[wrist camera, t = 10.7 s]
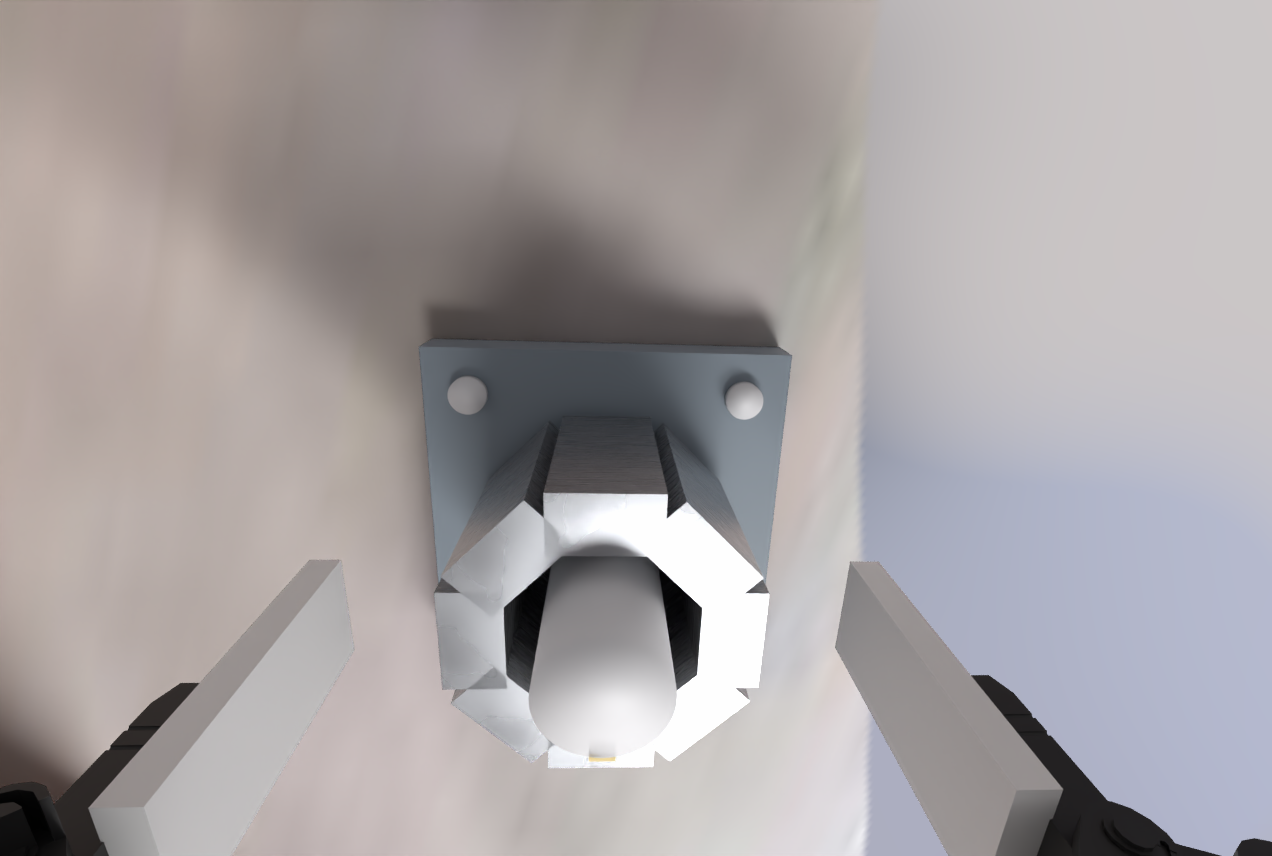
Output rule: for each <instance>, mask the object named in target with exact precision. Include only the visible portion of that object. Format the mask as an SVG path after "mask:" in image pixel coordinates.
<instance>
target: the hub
mask: <svg viewBox="0 0 1272 856" xmlns="http://www.w3.org/2000/svg"><path fill="white" fill-rule="evenodd" d="M562 556H617V557H648V558H649V559H650V560H651V561H653V562H654V563H655V564H656V565H657V566H658V568H659V575H660V581H661V588H662V595H663V602H664V608H665V615H666V622H667V628H668V635H669V642H670V648H671V655H672V662H673V668H674V675H675V682H676V688H677V704H676V709H675V712H674V715H673V718H672V720H671V722H670V723H669V725H668V726H667V728H666V729H665V730H664V731H663V733H662V734H661V735H660V736H659V737H658V738H656V739H655V740H654V741H653V742H651V743H650V744H648V745H647V746H645V747H643V748H641V749H639V750H637V751H635V752H632V753H630V754H626V755H622V756H617V757H616V761H600V762H589V757H585V756H580V755H576V754H573V753H570V752H568V751H565V750H563V749H561V748H559V747H558V746H556V745H555V744H553V743H552V742H550V741H549V740H548V739H547V738H546V737H545V736H544V735H543V734H542V733H541V732H540V731H539V729H538V728H537V726H536V725H535V723H534V721H533V719H532V717H531V713H530V710H529V702H528V699H529V689H530V683H531V678H532V672H533V666H534V661H535V655H536V649H537V644H538V638H539V632H540V626H541V621H542V615H543V609H544V604H545V598H546V592H547V587H548V581H549V575H550V570H551V565H553V564H554V563H555V562H556V561H557V560H558V559H559V558H561V557H562ZM441 577H442V578H441V580H440V582H439V584H438V586H437V588H436V590H435V592H434V599H435V610H436V622H437V633H438V645H439V657H440V668H441V680H442V689H456V690H455V693H454V696H453V699H452V702H451V704H452V705H453V706H455V707H456V708H458V709H459V710H460V711H462V712H463V713H464V714H466V715H467V716H468V717H470V718H471V719H472V720H474V721H475V722H476V723H478V724H479V725H481V726H482V727H483V728H485V729H486V730H487V731H489V732H490V733H491V734H493V735H494V736H495V737H497V738H498V739H500V740H501V741H502V742H504V743H505V744H506V745H508V746H509V747H510V748H512V749H513V750H514V751H516V752H517V753H518V754H520V755H521V756H523V757H524V758H525V759H527V760H528V761H529V762H531V763H532V762H534V761H535V760H536V759H537V758H539V757H540V756H541V755H542V754H544V753H545V752H546V751H547V750H548V768H604V767H653V761H654V749H655V750H656V751H657V752H659V753H660V754H661V755H662V756H664V757H665V758H666V759H667V760H669V761H671V760H672V759H674V758H675V757H676V756H678V755H679V754H680V753H682V752H683V751H684V750H686V749H687V748H688V747H690V746H691V745H692V744H694V743H695V742H696V741H698V740H699V739H700V738H702V737H703V736H704V735H706V734H707V733H708V732H710V731H711V730H712V729H714V728H715V727H716V726H718V725H719V724H720V723H722V722H723V721H724V720H726V719H727V718H728V717H730V716H731V715H732V714H734V713H735V712H736V711H738V710H739V709H740V708H742V707H743V706H744V705H746V704H747V703H748V702H750V701H749V698H748V695H747V691H746V688H758V685H759V676H760V668H761V660H762V651H763V643H764V635H765V626H766V618H767V610H768V601H769V592H768V590H767V587H766V585H765V583H764V581H763V578H764V577H763V575H762V573H761V571H760V568H759V566H758V564H757V562H756V560H755V557H754V555H753V553H752V551H751V549H750V546H749V544H748V542H747V540H746V538H745V535H744V533H743V531H742V529H741V527H740V524H739V522H738V520H737V518H736V516H735V513H734V511H733V509H732V507H731V505H730V502H729V500H728V498H727V496H726V494H725V491H724V489H723V487H722V485H721V483H720V480H719V479H718V478H717V477H716V476H715V475H714V474H713V473H712V472H711V471H710V470H709V469H708V468H707V467H706V466H705V465H704V464H703V463H702V461H701V460H700V459H699V458H698V457H697V456H696V455H695V454H694V453H693V452H692V451H691V450H690V449H689V448H688V447H687V446H686V445H685V444H684V443H683V442H682V441H681V440H680V439H679V438H678V437H677V436H676V435H675V434H674V433H673V432H672V431H671V430H670V429H669V428H668V427H667V426H666V425H665V424H664V423H662V424H661V425H660V426H659V427H658V428H657V429H656V430H654V431H653V427H652V423H651V418H650V417H628V416H574V415H563V418H562V422H561V426H560V430H559V429H558V428H557V427H556V426H555V425H554V424H553V423H552V422H551V421H549V422H547V423H546V424H545V425H544V426H543V427H542V428H541V429H540V430H539V431H538V432H537V433H536V434H535V435H534V436H533V437H532V438H530V439H529V440H528V441H527V442H526V443H525V444H524V445H523V446H522V447H521V448H520V449H519V450H518V451H517V452H516V453H515V454H514V455H512V456H511V457H510V458H509V459H508V460H507V461H506V462H505V463H504V464H503V465H502V466H501V467H500V468H499V469H498V470H497V471H495V472H494V473H493V474H492V475H491V476H490V478H489V480H488V482H487V484H486V486H485V488H484V490H483V492H482V494H481V496H480V498H479V500H478V502H477V504H476V506H475V508H474V510H473V512H472V514H471V516H470V518H469V520H468V522H467V524H466V526H465V528H464V530H463V532H462V534H461V536H460V538H459V540H458V542H457V544H456V546H455V548H454V550H453V553H452V555H451V557H450V559H449V561H448V563H447V565H446V567H445V569H444V571H443V573H442V575H441Z"/></svg>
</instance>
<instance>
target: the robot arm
mask: <svg viewBox="0 0 1272 856" xmlns="http://www.w3.org/2000/svg"><path fill="white" fill-rule="evenodd" d="M835 648H836V650H837V652H838V653H839V655H840V657H841V659H842V661H843V663H844V664H845V666H846V668H847V670H848V672H849V674H850V675H851V677H852V679H853V681H854V683H855V685H856V687H857V688H858V690H859V692H860V694H861V696H862V698H863V699H864V701H865V703H866V705H867V707H868V709H869V710H870V712H871V714H872V716H873V718H874V720H875V721H876V723H877V725H878V727H879V729H880V731H881V733H882V734H883V736H884V738H885V740H886V742H887V744H888V745H889V747H890V749H891V751H892V753H893V754H894V756H895V758H896V760H897V762H898V764H899V766H900V767H901V769H902V771H903V773H904V775H905V777H906V779H907V780H908V782H909V784H910V786H911V788H912V790H913V791H914V793H915V795H916V797H917V799H918V801H919V802H920V804H921V806H922V808H923V810H924V812H925V814H926V815H927V817H928V819H929V821H930V823H931V825H932V826H933V828H934V830H935V832H936V834H937V836H938V837H939V839H940V841H941V843H942V845H943V847H944V848H945V850H946V852H947V854H948V856H1220V855H1216V854H1212V853H1209V852H1205V851H1201V850H1197V849H1194V848H1190V847H1186V846H1182V845H1179V844H1175V843H1174V842H1173V840H1172V839H1171V838H1170V837H1169V836H1168V834H1167V833H1166V832H1164V831H1163V830H1162V829H1161V828H1160V827H1158V826H1157V825H1156V824H1155V823H1153V822H1152V821H1151V820H1150V819H1148V818H1146V817H1145V816H1143V815H1141V814H1140V813H1138V812H1136V811H1134V810H1133V809H1131V808H1128V807H1125V806H1123V805H1120V804H1117V803H1114V802H1110V801H1107V800H1106V798H1105V797H1104V796H1103V795H1102V794H1101V793H1100V792H1099V790H1098V789H1097V788H1096V787H1095V786H1094V785H1093V784H1092V782H1091V781H1090V780H1089V779H1088V778H1087V777H1086V776H1085V775H1084V773H1083V772H1082V771H1081V770H1080V769H1079V768H1078V767H1077V765H1076V764H1075V763H1074V762H1073V761H1072V760H1071V758H1070V757H1069V756H1068V755H1067V754H1066V753H1065V751H1064V750H1063V749H1062V748H1061V747H1060V746H1059V745H1058V743H1057V742H1056V741H1055V740H1054V739H1053V738H1052V737H1051V736H1048V735H1047V731H1046V730H1045V729H1044V727H1043V726H1042V725H1041V724H1040V723H1039V722H1038V721H1037V719H1036V718H1033V717H1032V714H1031V713H1030V711H1029V710H1028V709H1027V708H1026V707H1025V706H1024V704H1022V702H1021V701H1020V700H1019V699H1018V698H1017V696H1016V695H1015V694H1014V693H1013V692H1011V691H1010V690H1009V689H1007V688H1006V687H1004V686H1003V685H1002V684H1000V683H999V682H997V681H996V680H995V679H993V678H992V677H990V676H989V675H970V674H969V673H968V671H967V670H966V669H965V668H964V667H963V665H962V664H961V663H960V662H959V660H958V659H957V658H956V657H955V655H954V654H953V653H952V652H951V650H950V649H949V648H948V647H947V645H946V644H945V643H944V642H943V641H942V639H941V638H940V637H939V636H938V634H937V633H936V632H935V631H934V630H933V628H932V627H931V626H930V625H929V623H928V622H927V621H926V620H925V619H924V617H923V616H922V615H921V614H920V612H919V611H918V610H917V609H916V607H915V606H914V605H913V604H912V602H911V601H910V600H909V599H908V597H907V596H906V595H905V594H904V593H903V591H902V590H901V589H900V588H899V587H898V585H897V584H896V583H895V581H894V580H893V579H892V578H891V577H890V575H889V574H888V573H887V572H886V570H885V569H884V568H883V567H882V565H881V564H880V563H879V562H850V566H849V572H848V578H847V583H846V589H845V595H844V601H843V606H842V612H841V618H840V623H839V629H838V635H837V641H836V646H835ZM353 651H354V643H353V637H352V630H351V623H350V617H349V610H348V603H347V597H346V590H345V583H344V577H343V570H342V563H341V560H309V561H308V562H307V563H306V565H305V566H304V567H303V568H302V569H301V570H300V571H299V572H298V573H297V575H296V576H295V577H294V578H293V579H292V580H291V581H290V582H289V584H288V585H287V586H286V587H285V588H284V589H283V590H282V591H281V593H280V594H279V595H278V596H277V597H276V598H275V599H274V600H273V602H272V603H271V604H270V605H269V606H268V607H267V608H266V609H265V610H264V612H263V613H262V614H261V615H260V616H259V617H258V618H257V619H256V621H255V622H254V623H253V624H252V625H251V626H250V627H249V628H248V630H247V631H246V632H245V633H244V634H243V635H242V636H241V637H240V639H239V640H238V641H237V642H236V643H235V644H234V645H233V646H232V647H231V649H230V650H229V651H228V652H227V653H226V654H225V655H224V656H223V658H222V659H221V660H220V661H219V662H218V663H217V664H216V665H215V667H214V668H213V669H212V670H211V671H210V672H209V673H208V674H207V676H206V677H205V678H204V679H203V680H202V681H201V682H200V683H180V684H179V685H177V686H176V687H174V688H173V689H171V690H170V691H168V692H167V693H165V694H164V695H162V696H161V697H159V698H158V699H156V700H155V701H153V702H152V703H151V704H150V705H149V706H148V707H147V708H146V709H145V710H144V711H143V712H142V713H141V714H140V715H139V716H138V717H137V718H136V719H135V720H134V721H133V722H132V724H131V725H130V726H129V729H128V731H124V732H123V733H122V734H121V735H120V736H119V737H118V738H117V739H116V740H115V741H114V742H113V743H112V744H111V747H110V749H109V750H106V751H105V752H104V753H103V754H102V755H101V756H100V757H99V758H98V759H97V760H96V761H95V762H94V763H93V764H92V765H91V766H90V767H89V768H88V770H87V771H86V772H85V773H84V774H83V775H82V776H81V777H80V778H79V779H78V780H77V781H76V782H75V783H74V784H73V785H72V786H71V787H70V788H69V789H68V790H67V791H66V793H65V794H64V795H63V796H62V797H61V798H60V799H59V800H58V801H57V802H56V803H55V804H53V801H52V799H51V796H50V794H49V792H48V790H47V788H46V786H44V785H41V784H38V783H34V782H27V783H18V784H11V785H8V786H5V787H2V788H0V856H232V854H233V853H234V851H235V849H236V848H237V846H238V844H239V843H240V841H241V839H242V838H243V836H244V834H245V833H246V831H247V829H248V828H249V826H250V824H251V823H252V821H253V819H254V817H255V816H256V814H257V812H258V811H259V809H260V807H261V806H262V804H263V802H264V801H265V799H266V797H267V796H268V794H269V792H270V791H271V789H272V787H273V786H274V784H275V782H276V781H277V779H278V777H279V776H280V774H281V772H282V771H283V769H284V767H285V766H286V764H287V762H288V760H289V759H290V757H291V755H292V754H293V752H294V750H295V749H296V747H297V745H298V744H299V742H300V740H301V739H302V737H303V735H304V734H305V732H306V730H307V729H308V727H309V725H310V724H311V722H312V720H313V719H314V717H315V715H316V714H317V712H318V710H319V708H320V707H321V705H322V703H323V702H324V700H325V698H326V697H327V695H328V693H329V692H330V690H331V688H332V687H333V685H334V683H335V682H336V680H337V678H338V677H339V675H340V673H341V672H342V670H343V668H344V667H345V665H346V663H347V662H348V660H349V658H350V657H351V655H352V653H353ZM1233 856H1272V842H1270V841H1265V840H1260V839H1255V838H1254V839H1249V840H1243V841H1241V843H1240V844H1239V846H1238V848H1237V850H1236V852H1235V853H1234V855H1233Z"/></svg>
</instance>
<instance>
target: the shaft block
mask: <svg viewBox="0 0 1272 856" xmlns="http://www.w3.org/2000/svg"><path fill="white" fill-rule="evenodd" d="M419 355H420V367H421V379H422V391H423V404H424V416H425V428H426V440H427V452H428V464H429V476H430V488H431V500H432V512H433V524H434V536H435V548H436V560H437V572H438V584H439V582H440V580H441V578H442V577H441V575H442V573H443V571H444V569H445V567H446V565H447V563H448V561H449V559H450V557H451V555H452V553H453V550H454V548H455V546H456V544H457V542H458V540H459V538H460V536H461V534H462V532H463V530H464V528H465V526H466V524H467V522H468V520H469V518H470V516H471V514H472V512H473V510H474V508H475V506H476V504H477V502H478V500H479V498H480V496H481V494H482V492H483V490H484V488H485V486H486V484H487V482H488V480H489V478H490V476H491V475H492V474H493V473H494V472H495V471H497V470H498V469H499V468H500V467H501V466H502V465H503V464H504V463H505V462H506V461H507V460H508V459H509V458H510V457H511V456H512V455H514V454H515V453H516V452H517V451H518V450H519V449H520V448H521V447H522V446H523V445H524V444H525V443H526V442H527V441H528V440H529V439H530V438H532V437H533V436H534V435H535V434H536V433H537V432H538V431H539V430H540V429H541V428H542V427H543V426H544V425H545V424H546V423H547V422H549V421H551V422H552V423H553V424H554V425H555V426H556V427H557V428H558V429H559V430H560V426H561V422H562V418H563V415H574V416H628V417H650V418H651V423H652V427H653V431H654V430H656V429H657V428H658V427H659V426H660V425H661V424H662V423H664V424H665V425H666V426H667V427H668V428H669V429H670V430H671V431H672V432H673V433H674V434H675V435H676V436H677V437H678V438H679V439H680V440H681V441H682V442H683V443H684V444H685V445H686V446H687V447H688V448H689V449H690V450H691V451H692V452H693V453H694V454H695V455H696V456H697V457H698V458H699V459H700V460H701V461H702V463H703V464H704V465H705V466H706V467H707V468H708V469H709V470H710V471H711V472H712V473H713V474H714V475H715V476H716V477H717V478H718V479H719V480H720V483H721V485H722V487H723V489H724V491H725V494H726V496H727V498H728V500H729V502H730V505H731V507H732V509H733V511H734V513H735V516H736V518H737V520H738V522H739V524H740V527H741V529H742V531H743V533H744V535H745V538H746V540H747V542H748V544H749V546H750V549H751V551H752V553H753V555H754V557H755V560H756V562H757V564H758V566H759V568H760V571H761V573H762V575H763V577H764V578H763V581H764V583H765V584H766V575H767V567H768V558H769V550H770V541H771V532H772V524H773V515H774V507H775V498H776V489H777V481H778V472H779V464H780V455H781V446H782V438H783V429H784V421H785V412H786V403H787V395H788V386H789V378H790V369H791V361H792V355H790V354H789V353H787V352H786V351H784V350H783V349H781V348H780V347H746V346H706V345H666V344H625V343H585V342H544V341H504V340H463V339H431V340H429V341H428V342H426V343H424V344H422V345H421V346H419ZM528 702H529V710H530V713H531V717H532V719H533V721H534V723H535V725H536V726H537V728H538V729H539V731H540V732H541V733H542V734H543V735H544V736H545V737H546V738H547V739H548V740H549V741H550V742H552V743H553V744H555V745H556V746H558V747H559V748H561V749H563V750H565V751H568V752H570V753H573V754H576V755H580V756H585V757H589V762H600V761H616V757H617V756H622V755H626V754H630V753H632V752H635V751H637V750H639V749H641V748H643V747H645V746H647V745H648V744H650V743H651V742H653V741H654V740H655V739H656V738H658V737H659V736H660V735H661V734H662V733H663V731H664V730H665V729H666V728H667V726H668V725H669V723H670V722H671V720H672V718H673V715H674V712H675V709H676V704H677V688H676V682H675V675H674V668H673V662H672V655H671V648H670V642H669V635H668V628H667V622H666V615H665V608H664V602H663V595H662V588H661V581H660V575H659V568H658V566H657V565H656V564H655V563H654V562H653V561H651V560H650V559H649V558H648V557H617V556H562V557H561V558H559V559H558V560H557V561H556V562H555V563H554V564H553V565H551V570H550V575H549V581H548V587H547V592H546V598H545V604H544V609H543V615H542V621H541V626H540V632H539V638H538V644H537V649H536V655H535V661H534V666H533V672H532V678H531V683H530V689H529V699H528Z"/></svg>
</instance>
